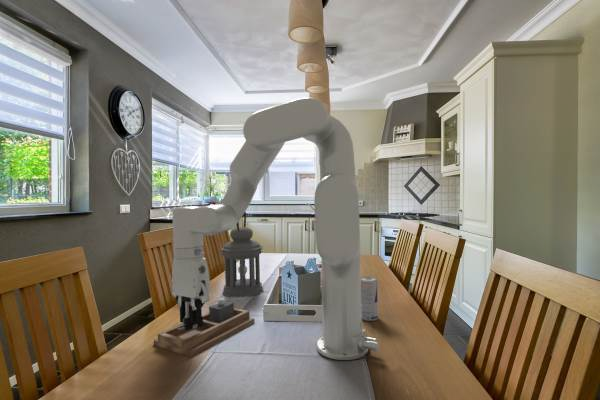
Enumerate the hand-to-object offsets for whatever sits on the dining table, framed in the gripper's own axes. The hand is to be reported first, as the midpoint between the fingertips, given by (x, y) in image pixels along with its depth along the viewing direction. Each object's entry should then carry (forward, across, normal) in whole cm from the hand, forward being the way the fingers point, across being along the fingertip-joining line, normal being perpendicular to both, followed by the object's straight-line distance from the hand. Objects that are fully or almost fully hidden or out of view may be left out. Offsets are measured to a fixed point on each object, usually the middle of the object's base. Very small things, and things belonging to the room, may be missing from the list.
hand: (191, 321), depth 89 cm
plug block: (+4, 0, -11) cm, 12 cm away
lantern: (+5, +18, -42) cm, 46 cm away
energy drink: (+5, -36, -37) cm, 52 cm away
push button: (+2, 0, 0) cm, 2 cm away
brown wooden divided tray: (+5, 0, -6) cm, 8 cm away
